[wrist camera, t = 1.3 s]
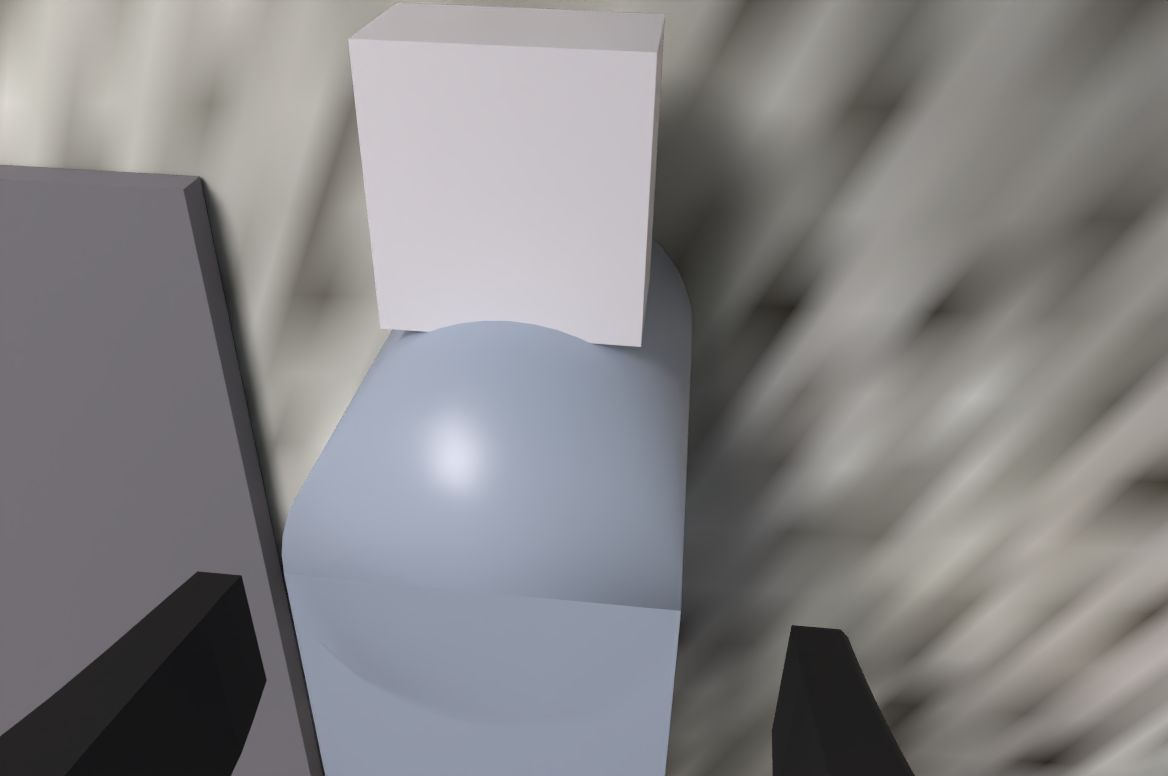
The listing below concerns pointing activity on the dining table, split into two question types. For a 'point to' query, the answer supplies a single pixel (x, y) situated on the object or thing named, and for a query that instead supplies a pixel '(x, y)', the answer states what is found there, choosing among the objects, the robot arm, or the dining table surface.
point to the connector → (503, 412)
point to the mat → (126, 441)
